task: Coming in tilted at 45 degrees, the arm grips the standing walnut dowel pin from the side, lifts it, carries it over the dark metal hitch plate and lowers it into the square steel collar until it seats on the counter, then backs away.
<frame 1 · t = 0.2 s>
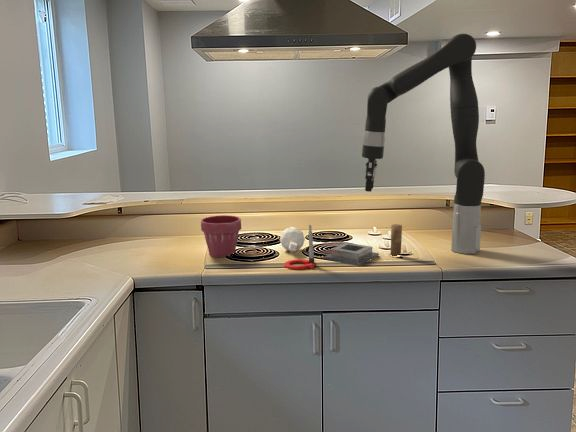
hand: (369, 189, 203), 22 cm above the cooktop, fingers open, 8 cm apart
perfume bottle: (291, 252, 205), on the cooktop
plant pot: (222, 254, 202), on the cooktop
tow hook: (299, 266, 187), on the cooktop
dowel pin: (395, 256, 198), on the cooktop
hitch plate: (351, 257, 197), on the cooktop
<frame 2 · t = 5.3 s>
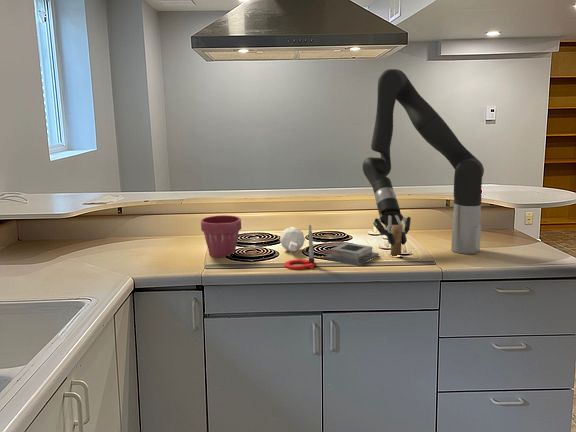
hand: (398, 243, 195), 5 cm above the cooktop, fingers closed on dowel pin, 3 cm apart
dowel pin: (395, 256, 198), on the cooktop, touching gripper
everything else where it was.
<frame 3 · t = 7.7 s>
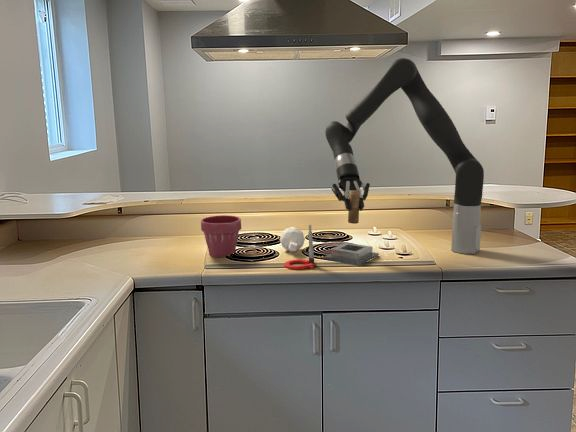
hand: (355, 209, 191), 17 cm above the cooktop, fingers closed on dowel pin, 3 cm apart
dowel pin: (353, 222, 194), point 12 cm above the cooktop, touching gripper
everything else where it was.
when the fingers open (7 cm above the cooktop, at t = 10.6 s): dowel pin drops 2 cm, resting in hitch plate.
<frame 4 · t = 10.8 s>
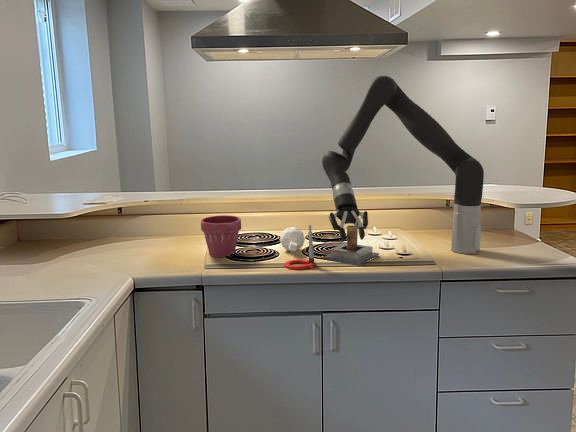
hand: (353, 238, 193), 7 cm above the cooktop, fingers open, 5 cm apart
dowel pin: (351, 257, 197), resting in hitch plate
everything else where it was.
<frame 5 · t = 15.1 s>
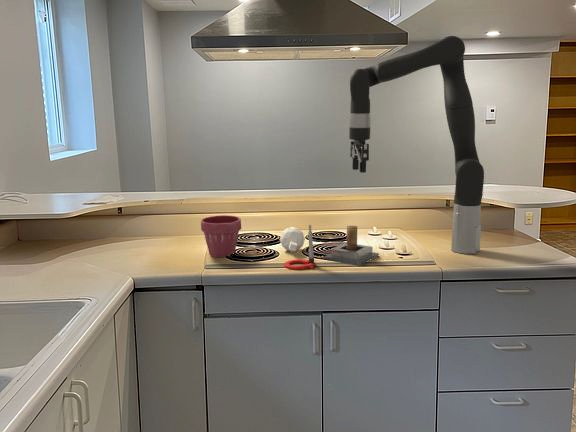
hand: (359, 171, 207), 28 cm above the cooktop, fingers open, 8 cm apart
nothing on the cooktop moved.
at the end: dowel pin 0.1 cm off-centre on the hitch plate, point 0.0 cm above the hitch plate's base; dowel pin tilted 0°; the gripper is holding nothing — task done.
